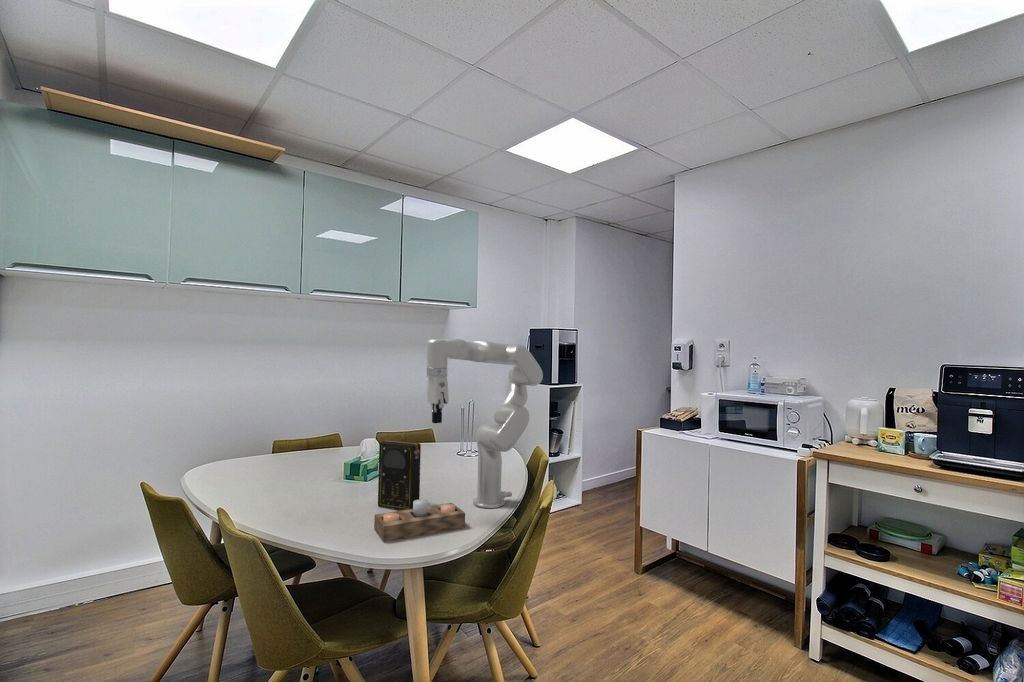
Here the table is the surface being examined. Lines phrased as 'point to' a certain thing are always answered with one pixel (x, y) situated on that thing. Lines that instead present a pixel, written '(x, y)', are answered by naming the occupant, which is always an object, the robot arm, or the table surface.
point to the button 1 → (391, 517)
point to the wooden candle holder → (418, 523)
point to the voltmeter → (398, 474)
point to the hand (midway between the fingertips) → (436, 422)
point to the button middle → (420, 508)
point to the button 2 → (447, 508)
